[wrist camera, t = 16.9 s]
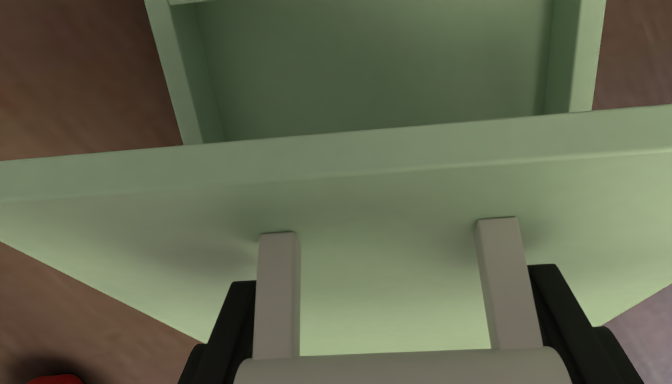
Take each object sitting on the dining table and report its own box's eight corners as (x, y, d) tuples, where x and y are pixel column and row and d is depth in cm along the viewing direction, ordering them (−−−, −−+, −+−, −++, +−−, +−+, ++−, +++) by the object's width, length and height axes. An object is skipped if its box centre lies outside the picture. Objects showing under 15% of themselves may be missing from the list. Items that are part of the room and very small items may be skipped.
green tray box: (173, -27, 19) (138, -18, 16) (575, -76, 17) (617, -76, 14) (251, 296, 26) (237, 342, 23) (539, 280, 25) (563, 328, 22)
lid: (-57, 163, 8) (-187, 497, 6) (901, 81, 7) (1171, 480, 5) (235, 341, 23) (227, 459, 21) (564, 326, 21) (592, 452, 19)
